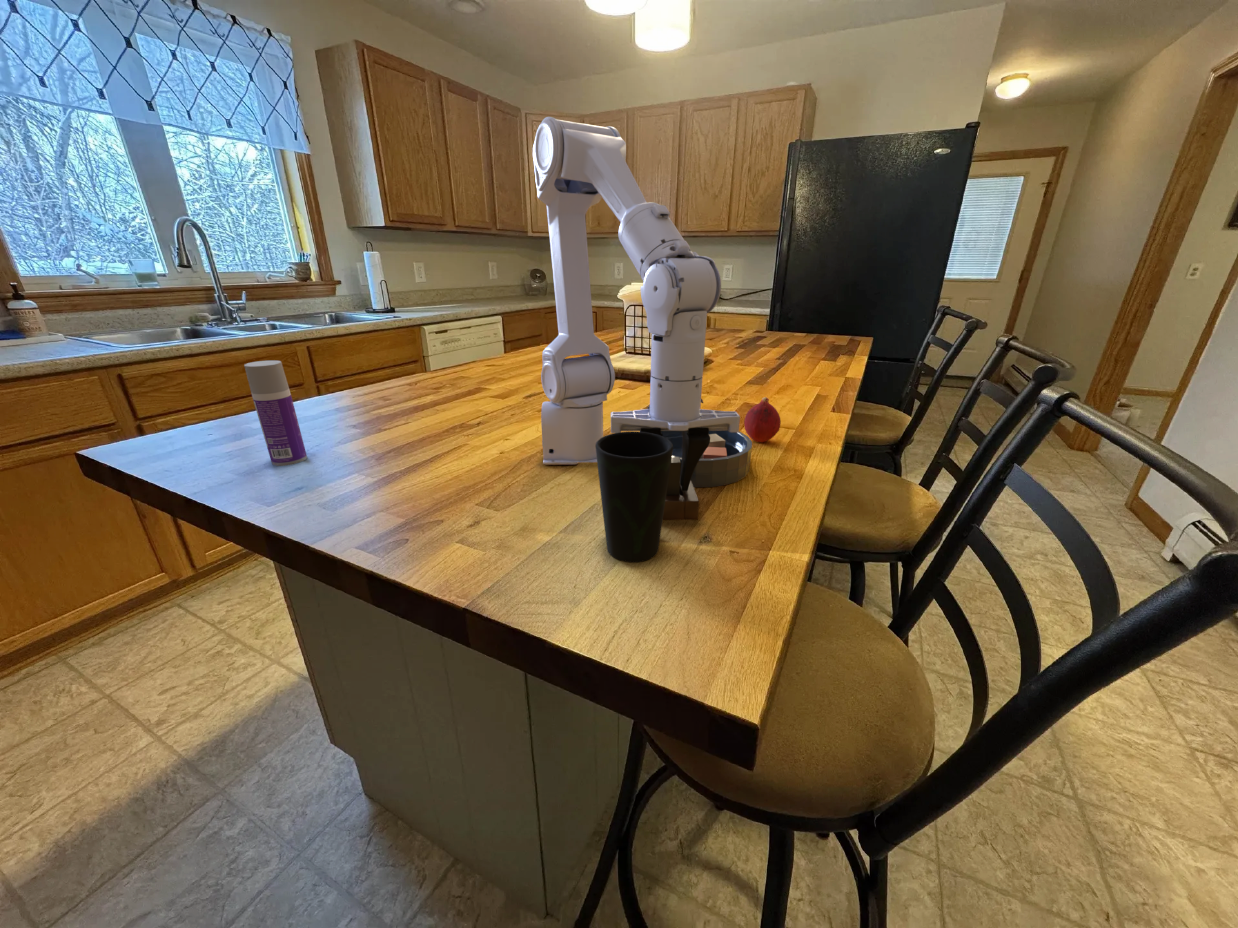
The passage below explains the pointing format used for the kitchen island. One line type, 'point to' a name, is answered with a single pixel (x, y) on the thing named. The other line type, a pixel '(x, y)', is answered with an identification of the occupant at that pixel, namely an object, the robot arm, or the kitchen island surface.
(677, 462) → the long dark block
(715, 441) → the cream block
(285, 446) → the container
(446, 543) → the kitchen island surface
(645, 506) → the cup
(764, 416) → the onion
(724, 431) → the bowl
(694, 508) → the holder
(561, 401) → the robot arm
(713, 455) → the terracotta block
